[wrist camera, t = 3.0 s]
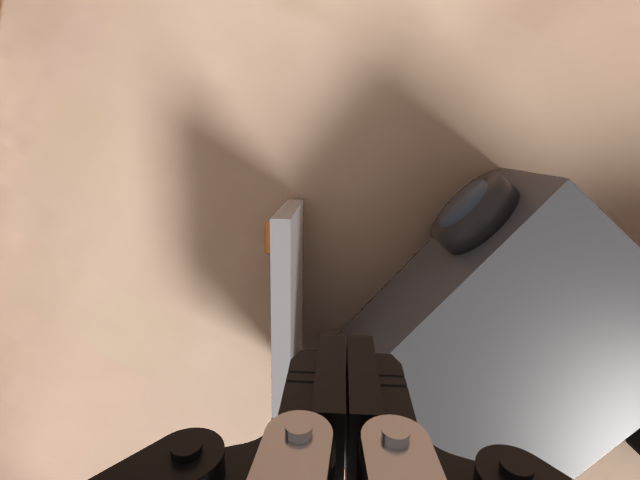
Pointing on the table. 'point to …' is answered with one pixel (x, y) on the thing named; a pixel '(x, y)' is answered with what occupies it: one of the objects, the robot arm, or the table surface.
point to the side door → (285, 291)
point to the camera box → (518, 323)
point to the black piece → (634, 441)
